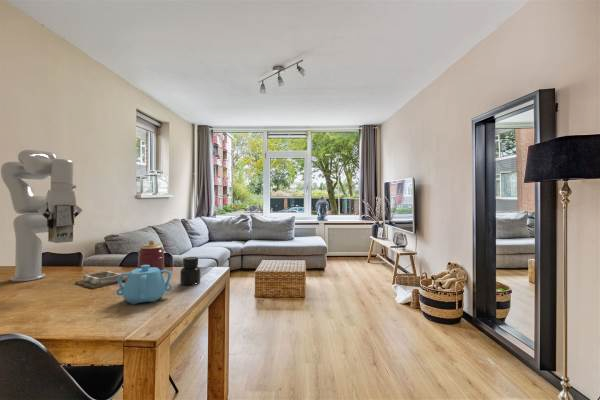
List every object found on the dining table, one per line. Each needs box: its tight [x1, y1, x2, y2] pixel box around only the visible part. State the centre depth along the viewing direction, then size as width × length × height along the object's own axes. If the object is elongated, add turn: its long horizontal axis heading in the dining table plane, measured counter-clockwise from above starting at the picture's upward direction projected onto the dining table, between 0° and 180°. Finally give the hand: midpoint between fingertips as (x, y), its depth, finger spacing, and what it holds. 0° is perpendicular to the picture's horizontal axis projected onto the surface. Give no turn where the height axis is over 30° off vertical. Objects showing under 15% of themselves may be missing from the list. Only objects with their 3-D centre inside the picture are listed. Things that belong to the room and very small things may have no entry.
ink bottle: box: [179, 256, 201, 286], centre depth 140 cm, size 10×9×12 cm
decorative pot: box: [115, 265, 173, 305], centre depth 116 cm, size 16×16×14 cm
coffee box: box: [47, 205, 75, 244], centre depth 130 cm, size 9×6×16 cm
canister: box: [137, 240, 166, 274], centre depth 159 cm, size 13×13×18 cm
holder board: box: [75, 270, 128, 290], centre depth 140 cm, size 16×16×4 cm
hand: (60, 227), depth 130 cm, fingers closed on coffee box, 6 cm apart
